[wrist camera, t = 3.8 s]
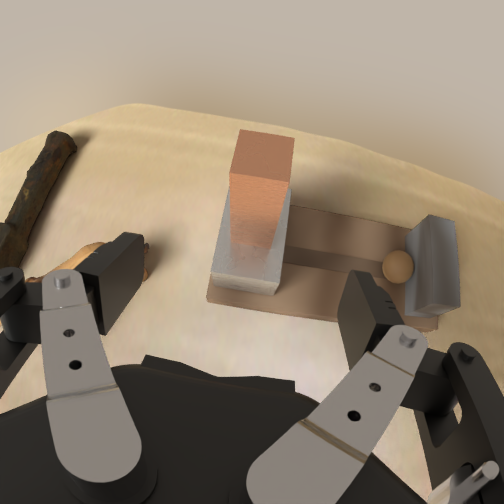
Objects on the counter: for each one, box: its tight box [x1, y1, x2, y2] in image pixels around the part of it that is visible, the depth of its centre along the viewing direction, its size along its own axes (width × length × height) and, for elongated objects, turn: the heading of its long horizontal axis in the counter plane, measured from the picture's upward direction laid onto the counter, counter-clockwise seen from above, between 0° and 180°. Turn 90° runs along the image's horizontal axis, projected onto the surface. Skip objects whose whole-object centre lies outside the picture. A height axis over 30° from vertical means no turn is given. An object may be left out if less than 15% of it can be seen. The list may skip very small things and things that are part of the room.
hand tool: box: [0, 131, 77, 269], centre depth 29 cm, size 19×4×5 cm, turn 165°
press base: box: [206, 205, 460, 332], centre depth 27 cm, size 22×10×7 cm, turn 81°
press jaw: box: [211, 129, 295, 296], centre depth 22 cm, size 5×8×13 cm, turn 171°
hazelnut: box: [382, 250, 414, 284], centre depth 27 cm, size 3×3×3 cm
